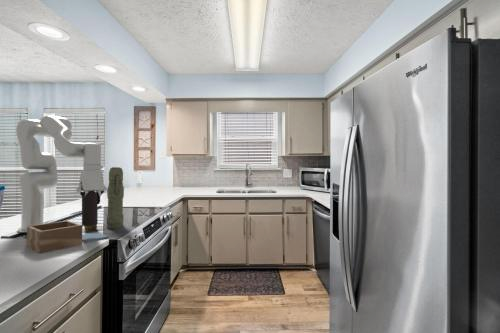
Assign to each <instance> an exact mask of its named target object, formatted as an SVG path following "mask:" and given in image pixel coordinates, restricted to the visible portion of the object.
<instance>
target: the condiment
mask: <svg viewBox="0 0 500 333" xmlns="http://www.w3.org/2000/svg"><path fill="white" fill-rule="evenodd" d="M101 230H103V228H101V227H98V224H96V225H92V226H84V229H82V233H83V232H85V233H86V232H100V231H101Z"/></svg>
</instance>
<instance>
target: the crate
mask: <svg viewBox="0 0 500 333" xmlns="http://www.w3.org/2000/svg"><path fill="white" fill-rule="evenodd" d="M82 235H83V226H82V223H81V224H80V223H77V222H74V221H71V220H62V221H55V222H47V223H43V224H40V225H33V226H27V232H26V247H27V248H29V249H30V248H31V249H30V250H32V251H35V252H37V253H38V254H43V253H49V252H54V251H58V250H62V249H67V247H68V248H71V247H72V246H73V247H77V246H81V245H83V241H82ZM76 245H77V246H76Z"/></svg>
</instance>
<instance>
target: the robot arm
mask: <svg viewBox="0 0 500 333" xmlns="http://www.w3.org/2000/svg"><path fill="white" fill-rule="evenodd" d="M72 125H73V124H72V122H71V120H69V119H68V118H65V117H61V116H57V115H44V116H42V117H41V118H40V119H34V118H33V119H31V118H30V119H29V118H27V119H25V118H24V119H22V120H20V121H18V123H17V125H16V128H15V129H16V130H15V132H16V137H17V139H18V143H19V146H20V147H19V148H20V150H19V151H20V160H21V161H20V162H21V165H22V167H23V168H22V169H25V170H31V171H28V172H24V173H23V174H22V175H20V177H19V181H18V182H19V186H20V187H19V188H20V191H21V215H20V216H21V219H20V220H21V222H20V223H21V224H20V225H21V227H18V228H17V233H18V232H19V233H27V226H33V225H40V224H44V212H45V211H44V208H45V206H44V205H45V201H44V200H45V198H44V194H43V193H42V192H41V190H43V189H44V190H45V189H52V188H54V187H56V186H57V185H58V168H57V159H56V158H55V156H54V155H53V154H52V153H49V152H41V147H40V146H41V145H40V143H39V141H38V139H37V138H36V137H34V136H37V137H47V138H53V143H54V147H55V149H56V150H57V151H58V152H59V153H60V154H62V155H63V156H65V157H66V158H78V159H81V158H82V159H83V170H81V171H80V175H79V184H78V187H77V188H76V189H75V192H76V193H78V194H79V195H80V196H81V197H82V196H84V197H85V195H86V194H87V193H88V192H89V191H95V192H96V193H97V204H98V205H100V204H101V196H102V195H104V193H105V192H106V191H107V188H108V187H107V186H106V185H105V184H104V174H103V170H102V169H103V168H104V165H102V146H101V144H100V143H95V142H93V143H92V142H75V141H70V139H71V137H72V136H73V130H72V127H73V126H72ZM32 170H34V171H32ZM35 170H37V171H35ZM38 170H39V171H38ZM41 170H42V171H41ZM84 192H85V194H84Z"/></svg>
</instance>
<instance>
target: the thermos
mask: <svg viewBox="0 0 500 333" xmlns="http://www.w3.org/2000/svg"><path fill="white" fill-rule="evenodd" d="M123 181H124V171H123V168H122V167H118V166H115V167H114V166H113V167H110V169H109V171H108V185H107V187H106V188H107V190H106V191H107V193H106V195H107V196H106V197H107V215H106V229H112V230H114V229H120V228H123V227H124V214H123V211H124V210H123V209H124V208H123V206H124V205H123V204H124V196H125V195H124V194H125V187H124V183H123Z"/></svg>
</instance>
